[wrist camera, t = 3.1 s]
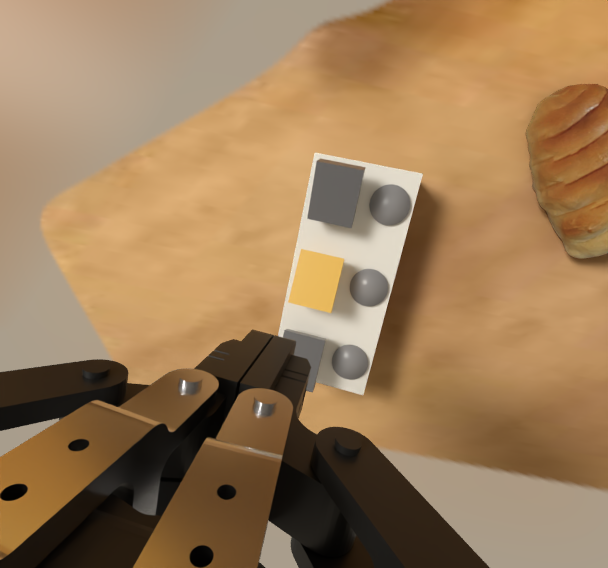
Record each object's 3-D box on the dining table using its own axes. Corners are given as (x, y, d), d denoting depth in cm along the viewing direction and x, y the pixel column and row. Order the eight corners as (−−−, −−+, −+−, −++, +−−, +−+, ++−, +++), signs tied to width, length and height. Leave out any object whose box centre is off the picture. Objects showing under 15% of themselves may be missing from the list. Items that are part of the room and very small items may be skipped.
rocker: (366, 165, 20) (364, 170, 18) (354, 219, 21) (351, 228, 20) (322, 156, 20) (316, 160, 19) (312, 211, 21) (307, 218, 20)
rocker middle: (344, 261, 22) (344, 258, 20) (332, 311, 22) (331, 313, 20) (304, 252, 22) (301, 248, 20) (292, 301, 22) (287, 302, 20)
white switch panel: (415, 178, 24) (423, 173, 20) (364, 370, 27) (363, 396, 23) (322, 160, 24) (314, 151, 21) (283, 349, 28) (270, 371, 24)
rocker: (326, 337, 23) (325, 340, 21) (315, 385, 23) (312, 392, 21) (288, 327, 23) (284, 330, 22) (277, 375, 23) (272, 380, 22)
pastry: (487, 136, 23) (510, 123, 19) (599, 60, 21) (648, 29, 17) (567, 265, 23) (604, 275, 20) (682, 201, 22) (746, 200, 18)
